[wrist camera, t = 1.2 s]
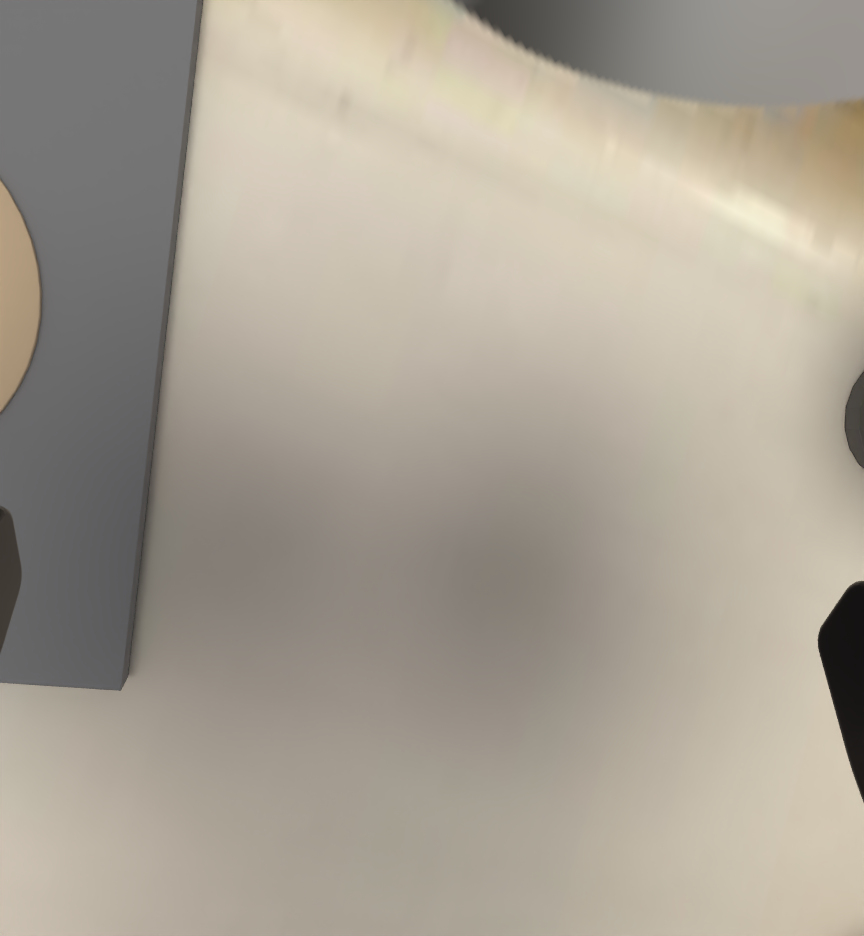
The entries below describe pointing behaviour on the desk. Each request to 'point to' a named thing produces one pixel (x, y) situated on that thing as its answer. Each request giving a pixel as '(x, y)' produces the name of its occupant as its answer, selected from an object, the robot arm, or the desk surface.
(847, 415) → the beverage cup
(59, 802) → the desk surface
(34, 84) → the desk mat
